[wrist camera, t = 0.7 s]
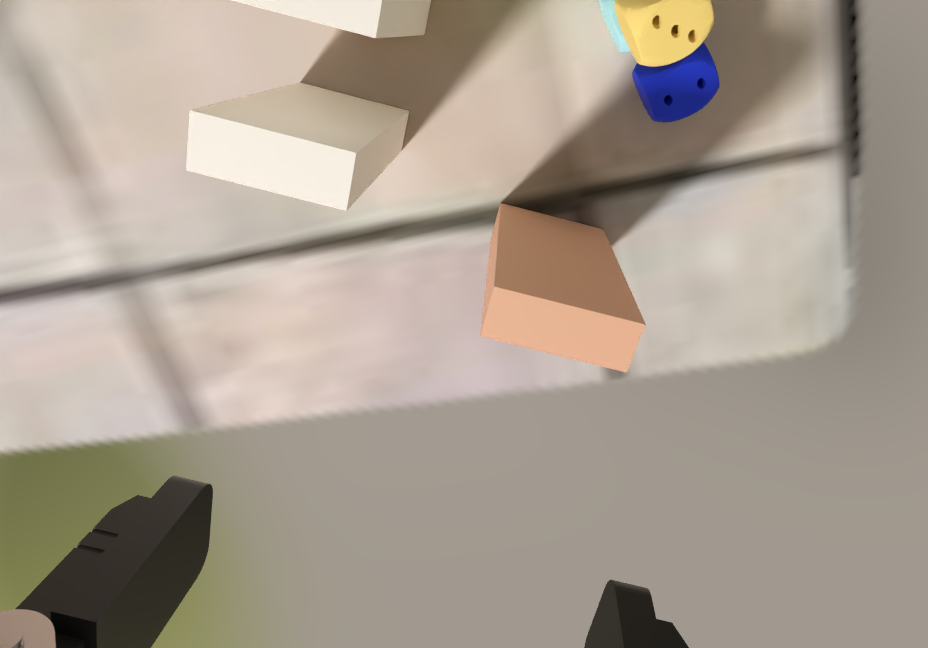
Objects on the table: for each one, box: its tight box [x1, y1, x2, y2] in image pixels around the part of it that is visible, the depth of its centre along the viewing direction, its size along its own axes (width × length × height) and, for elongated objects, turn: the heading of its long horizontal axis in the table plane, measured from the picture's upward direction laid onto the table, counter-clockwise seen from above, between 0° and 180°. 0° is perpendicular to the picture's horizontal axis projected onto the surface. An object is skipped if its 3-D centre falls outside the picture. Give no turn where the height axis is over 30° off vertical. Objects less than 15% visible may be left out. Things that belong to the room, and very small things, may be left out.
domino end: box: [480, 203, 646, 372], centre depth 26 cm, size 2×5×11 cm, turn 76°
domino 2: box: [186, 83, 409, 211], centre depth 25 cm, size 2×5×11 cm, turn 76°
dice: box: [599, 0, 719, 122], centre depth 25 cm, size 8×3×6 cm, turn 28°
